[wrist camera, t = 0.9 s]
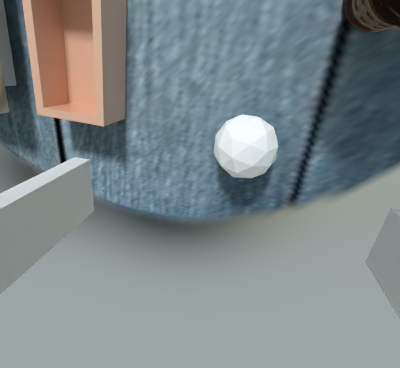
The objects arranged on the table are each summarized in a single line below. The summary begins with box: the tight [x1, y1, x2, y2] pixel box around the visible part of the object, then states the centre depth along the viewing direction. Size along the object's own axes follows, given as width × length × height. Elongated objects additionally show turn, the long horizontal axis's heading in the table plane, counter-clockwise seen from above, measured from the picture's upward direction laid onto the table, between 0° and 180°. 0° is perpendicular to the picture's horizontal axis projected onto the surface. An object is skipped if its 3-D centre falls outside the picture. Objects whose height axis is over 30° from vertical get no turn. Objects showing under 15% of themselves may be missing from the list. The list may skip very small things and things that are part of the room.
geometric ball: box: [214, 115, 278, 178], centre depth 32 cm, size 8×8×8 cm
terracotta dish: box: [22, 0, 127, 127], centre depth 31 cm, size 16×9×6 cm, turn 172°
